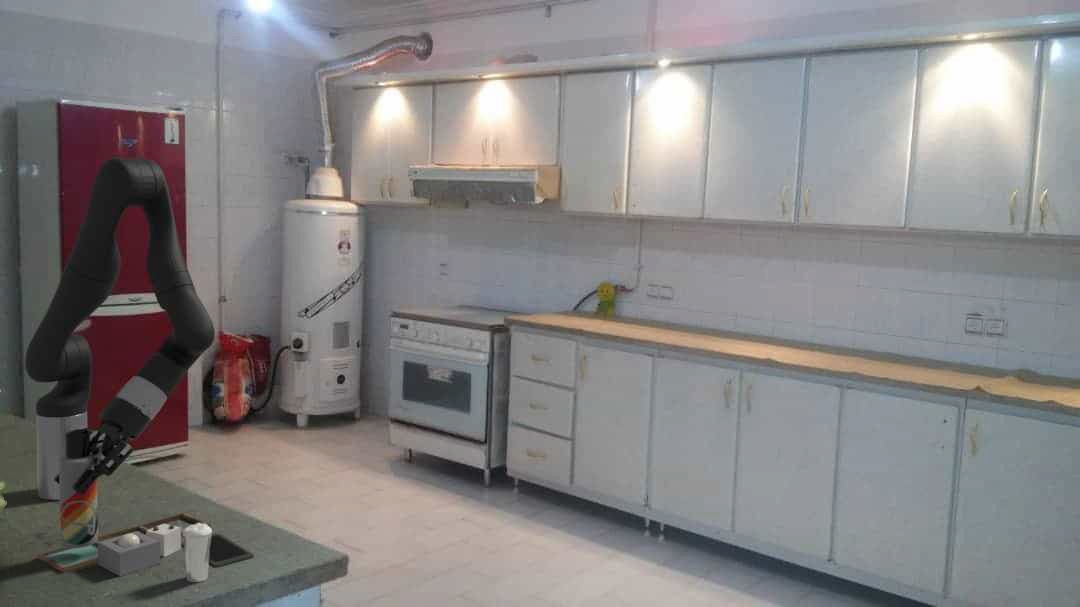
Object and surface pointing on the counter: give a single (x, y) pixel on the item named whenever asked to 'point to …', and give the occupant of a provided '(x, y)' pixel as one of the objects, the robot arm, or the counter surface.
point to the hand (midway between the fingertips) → (68, 487)
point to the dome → (128, 540)
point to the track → (88, 555)
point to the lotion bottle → (75, 507)
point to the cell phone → (225, 551)
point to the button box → (128, 554)
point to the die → (166, 538)
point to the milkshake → (197, 551)
